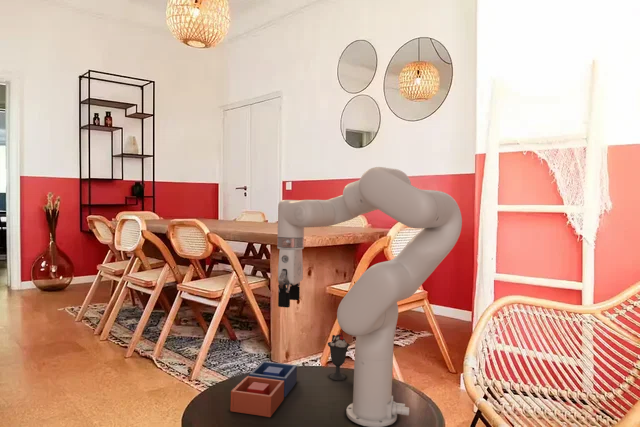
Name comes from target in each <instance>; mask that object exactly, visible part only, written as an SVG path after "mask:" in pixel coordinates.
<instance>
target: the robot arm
mask: <svg viewBox="0 0 640 427" xmlns="http://www.w3.org/2000/svg"><path fill="white" fill-rule="evenodd" d="M377 210H379V211H380V212H381V213H383V214H385V215H387V216H388V217H390V218H392V219H394V220H395V221H397V222H398V223H400V224H402V225H403V226H406V227H408V228H412V229H421V230H420V231H419V232H418V233H416V235H414V236H413V237H412V238H411V239H410V240H409V241H408V242H407V243H406V244H405V246H404V248H403V249H402V250H401V251H400V252H399V253H398V254H397V255H396V256H395V257H394V258H392V259H390V260H385V261H381V262H378V263H375V264H373V265H371V266H370V267H369V268H367V269H366V270H365V271H364V272H363V273H362V275H360V277H359V278H358V279H357V280H356V282H355V283H354V284H353V285H352V286H351V287H350V289H349V290H348V291H347V293H346V294H345V295H344V296H343V298H342V299H341V300H340V303H339V304H338V307H337V310H336V311H337V312H336V319H337V324H338V327H339V328H340V329H341V330H342V332H343V331H344V332H343V333H345V334H347V335H349V336H352V337H355V342H354V359H353V360H354V361H353V362H354V363H353V386H352V387H353V389H352V390H353V392H352V403H350V404H349V405H348V406H347V407H346V412H345V414H346V417H347V418H348V420H350V421H351V422H353V423H355V424H357V425H360V426H363V427H388V426H391V425H393V424H394V423H396V421H397V420H398V415H401V416H407V417H409V416H410V407H409V406H406V403H402V402H396V401H394V395H392V394H393V392H392V390H393V367H394V350H395V349H394V347H395V336H396V329H397V324H398V319H399V304H398V302H401V301H404V300H407V299H409V298H411V297H412V296H414V295H415V293H416V292H417V291H418V290H419V289H420V287H421V286H422V285H423V284H424V283H425V282H426V281H427V279H428V278H429V277H430V276H431V275H432V274H433V272H435V270H436V269H437V268H438V266H439V265H440V264H441V263H442V262H443V260H445V258H446V257H447V256H448V255H449V254H450V252H451V251H452V250H453V248H454V247H455V245H456V244H457V243H458V240H459V238H460V235H461V232H462V226H463V218H462V217H463V216H462V212H461V209H460V206H459V204H458V202H457V201H456V199H455V198H454V197H453V196H452V195H450V194H449V193H447V192H444V191H441V190H436V189H435V190H434V189H421V188H419V187H416V186H414V185H412V181H411V179H410V177H409V176H408V174H406V173H405V172H404V171H402V170H401V169H397V168H391V167H386V166H385V167H384V166H376V167H375V166H374V167H371V168H369V169H367V170H366V171H364V173H362V175H361V176H360V177H359V180H356V181H353V182H350V183H347V184H346V185H345V186H344V188H343V191H342V194H341V195H338V196H336V197H332V198H329V199H301V200H299V199H282V200H280V201H279V202H278V204H277V238H276V239H277V240H276V241H277V243H276V249H278V250H279V253H278V264H277V282H278V285H277V287H278V289H277V293H278V294H277V298H278V299H277V306H278V307H279V308H290V307H291V301H300V294H301V287H300V286H301V282H302V281H303V279H304V260H303V259H304V257H303V250H304V249H305V247H304V246H305V245H304V244H305V228H325V227H332V226H335V225H338V224H342V223H346V222H348V221H351V220H354V219H355V218H357V217H360V216H362V215H364V214H368V213H371V212H374V211H377Z"/></svg>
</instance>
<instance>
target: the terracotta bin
mask: <svg viewBox="0 0 640 427" xmlns="http://www.w3.org/2000/svg"><path fill="white" fill-rule="evenodd" d="M253 382H258V383H265V384H269V395H264V394H257V393H249V392H247V388H248V387H249V386H250V385H251V384H252V383H253ZM284 400H285V397H284V381H283V380H275V379H267V378H260V377H252V376H249V375H247V376H245V377H244V378H243V379H242V380H241V381H240V382H238V384H237V385H235V387H233V388H232V389H231V390H230V412H231V413H241V414H246V415H253V416H259V417H265V418H271V417H272V416H273V414H274V413H275V412H276V411H277V409H278V408H279V406H280V405H281V404H282V402H283V401H284Z"/></svg>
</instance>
